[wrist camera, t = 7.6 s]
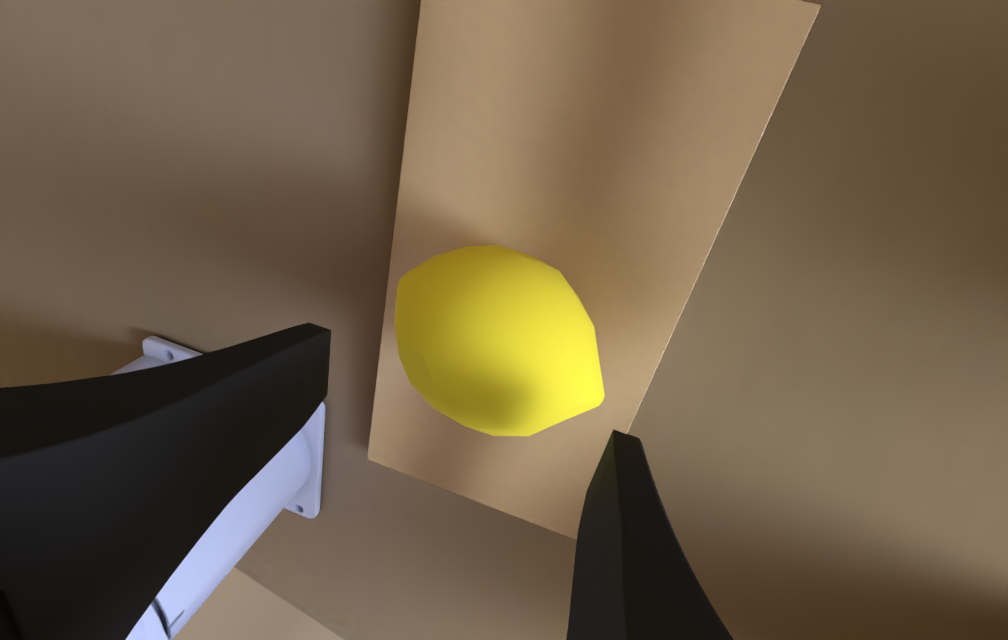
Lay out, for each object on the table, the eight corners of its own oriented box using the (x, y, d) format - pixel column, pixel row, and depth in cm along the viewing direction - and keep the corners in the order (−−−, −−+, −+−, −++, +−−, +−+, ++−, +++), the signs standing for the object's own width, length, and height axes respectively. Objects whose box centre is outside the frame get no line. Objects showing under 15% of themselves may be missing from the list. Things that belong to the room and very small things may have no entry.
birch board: (374, 448, 24) (366, 459, 23) (441, -79, 14) (429, -86, 13) (580, 526, 23) (578, 541, 22) (813, 7, 13) (822, 4, 12)
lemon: (406, 308, 19) (323, 389, 14) (467, 181, 16) (390, 230, 12) (566, 408, 19) (536, 520, 14) (654, 299, 16) (652, 394, 12)
